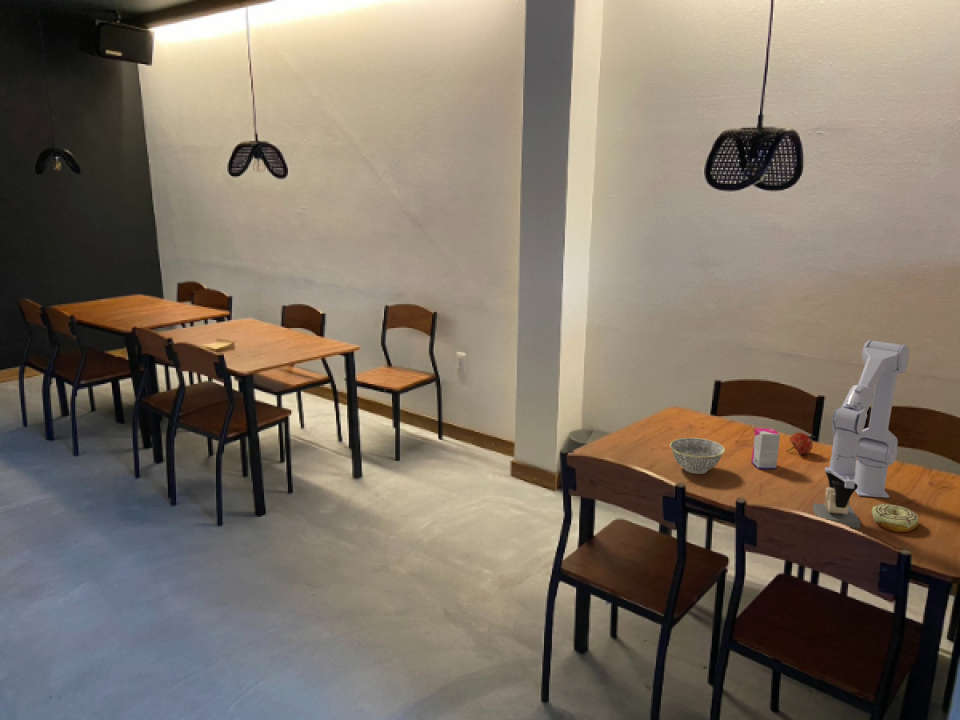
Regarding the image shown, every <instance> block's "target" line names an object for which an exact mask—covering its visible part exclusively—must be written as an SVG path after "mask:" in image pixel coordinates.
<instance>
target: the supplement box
mask: <svg viewBox="0 0 960 720" xmlns="http://www.w3.org/2000/svg"><path fill="white" fill-rule="evenodd" d="M780 438H781V433H779V432H778V431H776V429H774V428H767V427H766V428H765V427H764V428H762V427H761V428H760V427H759V428H758V427H757V428H756V427H755V428H754V437H753V445H752V447H753V448H752V452H751V453H752V455H751V461H750V462H751V464H752V465H753V466H754V467H755V468H756V469H757V470H777V466H778V465H777V464H778V456H779V449H780V448H779V447H780V441H781V440H780Z"/></svg>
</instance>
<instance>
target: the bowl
mask: <svg viewBox="0 0 960 720" xmlns="http://www.w3.org/2000/svg"><path fill="white" fill-rule="evenodd" d="M669 447H670V449H671V451H672V455H673V457H674V459H675V461H676V462H677V464H679V466H680V467H682V468H683V469H684V471H685V472H687V473H690V474H695V475H700V474H706V473H707V472H709V470H711V469H713V468H715V467H716V466H717V465H718V463H719V462H720V460H721V458H722V456H723V455H724V453H725V450H726V449H725V447H724V445H722V444H720V443H719V442H716V441H714V440H710V439H706V438H699V437H698V438H697V437H684V438H682V437H681V438H677V439H675V440H672V441H671V442H670V444H669Z"/></svg>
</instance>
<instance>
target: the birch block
mask: <svg viewBox="0 0 960 720" xmlns="http://www.w3.org/2000/svg"><path fill="white" fill-rule="evenodd" d="M850 500H851V499H849V501H848V503H847V506H846V507H845V508H839V507H836V502H835V489H834V488H829V487H826V488H825V497H824V503H823V504H824V505H825V507H826V508H827V510H828V512H830V513H843V514H848V508H849V506H850Z"/></svg>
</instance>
